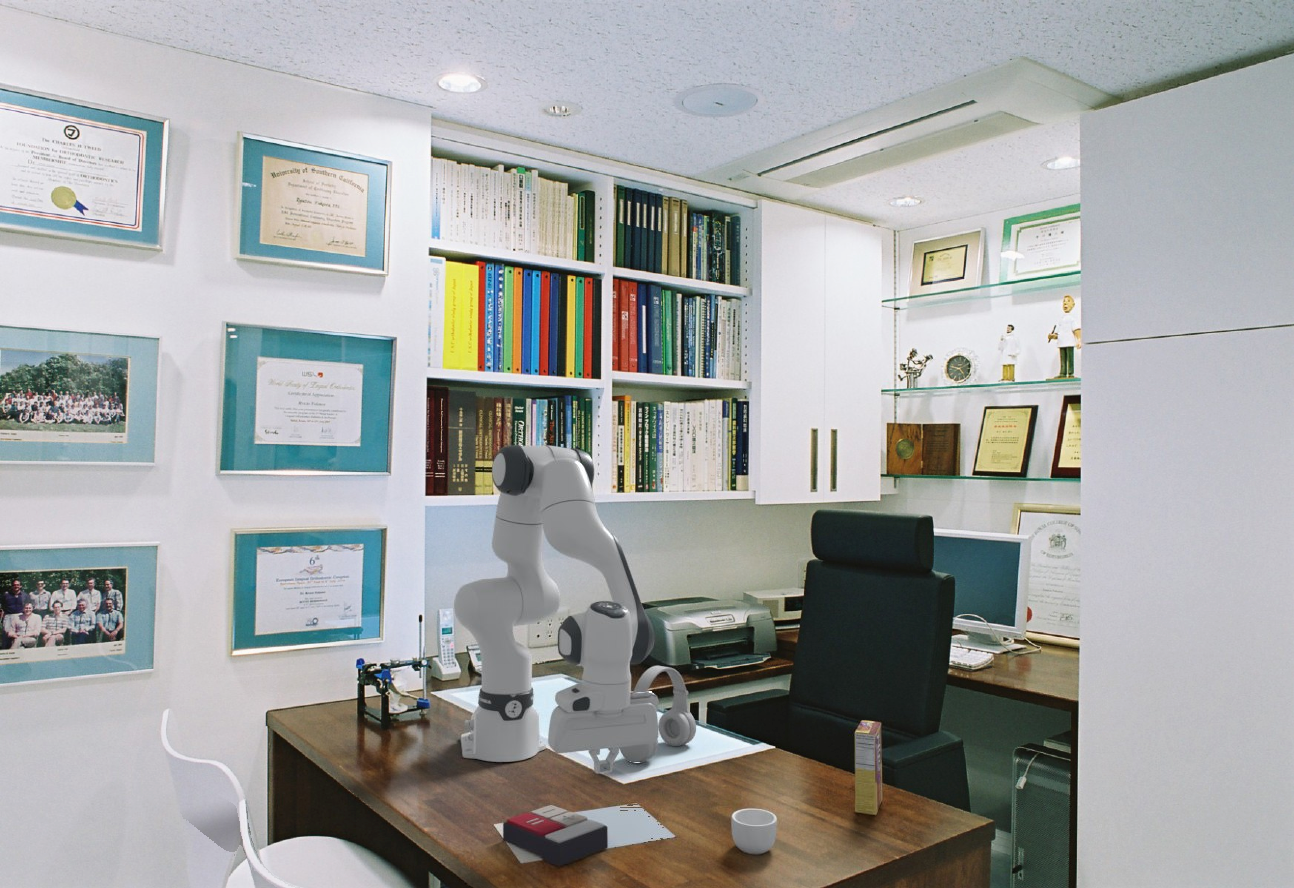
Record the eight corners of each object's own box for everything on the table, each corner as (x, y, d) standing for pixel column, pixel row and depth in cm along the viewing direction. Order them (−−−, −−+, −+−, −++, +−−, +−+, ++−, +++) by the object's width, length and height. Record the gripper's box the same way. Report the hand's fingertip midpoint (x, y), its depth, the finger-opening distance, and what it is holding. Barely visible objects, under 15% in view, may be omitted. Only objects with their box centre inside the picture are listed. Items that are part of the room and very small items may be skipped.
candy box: (860, 796, 181) (861, 719, 181) (882, 800, 179) (883, 721, 180) (852, 812, 173) (854, 730, 173) (876, 815, 171) (877, 733, 171)
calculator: (551, 801, 165) (608, 821, 154) (551, 826, 164) (609, 847, 154) (501, 817, 157) (558, 839, 146) (502, 843, 156) (558, 867, 146)
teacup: (766, 862, 150) (767, 829, 150) (723, 852, 154) (724, 820, 154) (787, 840, 159) (787, 809, 159) (745, 831, 162) (746, 801, 163)
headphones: (667, 739, 217) (669, 657, 217) (697, 746, 212) (699, 662, 212) (615, 760, 200) (617, 671, 201) (647, 768, 195) (648, 677, 196)
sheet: (493, 825, 163) (493, 824, 163) (636, 804, 175) (636, 803, 175) (521, 863, 148) (521, 862, 148) (676, 837, 159) (676, 836, 159)
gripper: (651, 685, 171) (648, 759, 171) (546, 694, 162) (543, 771, 162) (666, 694, 165) (663, 771, 165) (558, 703, 157) (555, 784, 157)
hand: (602, 771), depth 164 cm, fingers closed
